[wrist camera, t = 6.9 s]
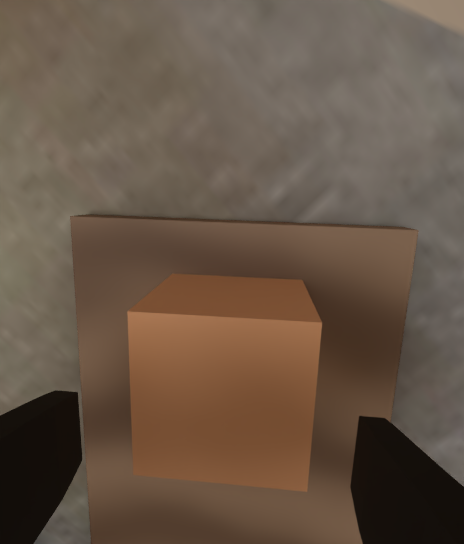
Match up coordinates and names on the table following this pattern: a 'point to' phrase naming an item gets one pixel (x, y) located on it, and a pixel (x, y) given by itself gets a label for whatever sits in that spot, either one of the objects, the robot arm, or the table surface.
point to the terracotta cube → (224, 380)
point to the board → (330, 380)
